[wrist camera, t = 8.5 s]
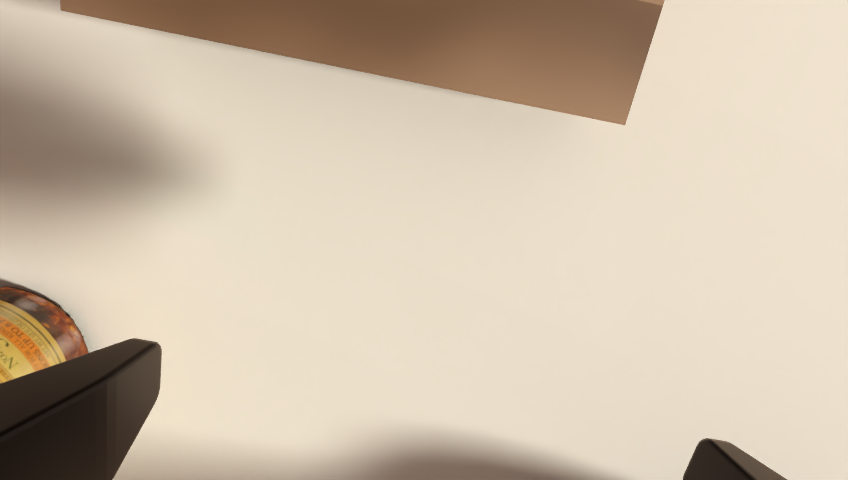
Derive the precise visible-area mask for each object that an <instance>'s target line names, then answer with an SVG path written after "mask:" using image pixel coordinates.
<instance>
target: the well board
mask: <svg viewBox="0 0 848 480" xmlns="http://www.w3.org/2000/svg"><path fill="white" fill-rule="evenodd" d="M60 3H61V10H62V11H67V12H71V13H76V14H81V15H86V16H91V17H96V18H101V19H106V20H111V21H116V22H121V23H125V24H130V25H135V26H140V27H145V28H150V29H155V30H160V31H165V32H170V33H175V34H180V35H184V36H189V37H194V38H199V39H204V40H209V41H214V42H219V43H224V44H229V45H234V46H238V47H243V48H248V49H253V50H258V51H263V52H268V53H273V54H278V55H283V56H288V57H293V58H297V59H302V60H307V61H312V62H317V63H322V64H327V65H332V66H337V67H342V68H347V69H352V70H356V71H361V72H366V73H371V74H376V75H381V76H386V77H391V78H396V79H401V80H406V81H410V82H415V83H420V84H425V85H430V86H435V87H440V88H445V89H450V90H455V91H460V92H465V93H469V94H474V95H479V96H484V97H489V98H494V99H499V100H504V101H509V102H514V103H519V104H524V105H528V106H533V107H538V108H543V109H548V110H553V111H558V112H563V113H568V114H573V115H578V116H582V117H587V118H592V119H597V120H602V121H607V122H612V123H617V124H622V125H625V123H626V120H627V117H628V114H629V111H630V107H631V104H632V101H633V98H634V95H635V92H636V89H637V85H638V82H639V79H640V76H641V73H642V70H643V66H644V63H645V60H646V57H647V54H648V51H649V48H650V44H651V41H652V38H653V35H654V32H655V29H656V26H657V22H658V19H659V16H660V13H661V10H662V7H663V4H664V0H60Z"/></svg>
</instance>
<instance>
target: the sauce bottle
mask: <svg viewBox="0 0 848 480" xmlns="http://www.w3.org/2000/svg"><path fill="white" fill-rule="evenodd" d="M85 354H88V349H87V346H86V344H85V341H84V338H83V336H82V334H81V332H80V330H79V329H78V327H77V326H76V325H75V323H74V320H73V319H72V318H70V317H68V316H67V315H66V313H65V311H64V310H63V309H61V308H59V307H57V306H56V305H54V304H53V303H52V302H50V301H48V300H46V299H44V298H42V297H40V296H37V295H35V294H32V293H30V292H24V291H23V290H21V289H16V288H12V287H2V288H0V383H3V382H6V381H9V380H12V379H15V378H18V377H21V376H24V375H27V374H30V373H32V372H35V371H38V370H41V369H44V368H47V367H50V366H53V365H56V364H59V363H62V362H65V361H67V360H70V359H73V358H76V357H79V356H82V355H85Z"/></svg>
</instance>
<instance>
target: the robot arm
mask: <svg viewBox="0 0 848 480" xmlns="http://www.w3.org/2000/svg"><path fill="white" fill-rule="evenodd" d="M161 355H162V351H161V346H160V345H159V344H158V343H157V342H153V341H147V340H142V339H136V338H133V339H129V340H126V341H123V342H120V343H117V344H114V345H111V346H108V347H105V348H102V349H100V350H97V351H94V352H91V353H88V354H85V355H82V356H79V357H76V358H73V359H70V360H67V361H65V362H62V363H59V364H56V365H53V366H50V367H47V368H44V369H41V370H38V371H35V372H32V373H30V374H27V375H24V376H21V377H18V378H15V379H12V380H9V381H6V382H3V383H0V480H112V479H113V478H114V476H115V474H116V473H117V471H118V469H119V467H120V465H121V464H122V462H123V460H124V458H125V456H126V455H127V453H128V451H129V449H130V447H131V446H132V444H133V442H134V440H135V438H136V436H137V435H138V433H139V431H140V429H141V427H142V426H143V424H144V422H145V420H146V418H147V417H148V415H149V413H150V411H151V409H152V408H153V406H154V404H155V402H156V400H157V397H158V394H159V390H160V377H161ZM683 480H787V479H785V478H784V477H782V476H781V475H779V474H778V473H776V472H775V471H773V470H771V469H770V468H768V467H767V466H765V465H764V464H762V463H761V462H759V461H758V460H756V459H754V458H753V457H751V456H750V455H748V454H747V453H745V452H744V451H742V450H741V449H739V448H738V447H736V446H734V445H733V444H731V443H729V442H726V441H721V440H715V439H709V438H706V439H703V440H701V441H700V442H699V443H698V445H697V447H696V449H695V451H694V454H693V456H692V458H691V460H690V462H689V465H688V467H687V469H686V471H685V473H684V476H683Z"/></svg>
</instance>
